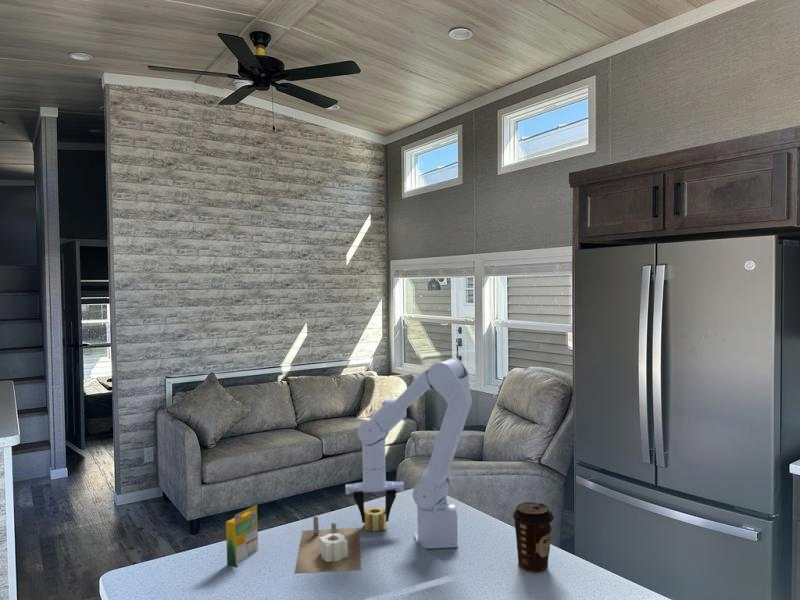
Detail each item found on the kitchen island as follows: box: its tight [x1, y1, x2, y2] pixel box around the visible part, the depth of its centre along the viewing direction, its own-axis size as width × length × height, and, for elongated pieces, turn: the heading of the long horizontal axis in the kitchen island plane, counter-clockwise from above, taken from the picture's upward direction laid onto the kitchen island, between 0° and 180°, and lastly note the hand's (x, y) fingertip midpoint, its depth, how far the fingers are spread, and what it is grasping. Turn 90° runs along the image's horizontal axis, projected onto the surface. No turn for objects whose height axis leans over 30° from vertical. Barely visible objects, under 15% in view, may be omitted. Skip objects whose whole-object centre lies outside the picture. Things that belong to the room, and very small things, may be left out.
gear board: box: [294, 515, 362, 574], centre depth 136 cm, size 14×22×6 cm, turn 5°
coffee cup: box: [512, 501, 554, 574], centre depth 128 cm, size 9×8×13 cm
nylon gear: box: [319, 533, 348, 562], centre depth 132 cm, size 5×5×4 cm
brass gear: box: [363, 506, 387, 532], centre depth 148 cm, size 5×5×4 cm
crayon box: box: [225, 504, 259, 568], centre depth 133 cm, size 7×3×12 cm, turn 152°
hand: (375, 520), depth 148 cm, fingers closed on brass gear, 5 cm apart
